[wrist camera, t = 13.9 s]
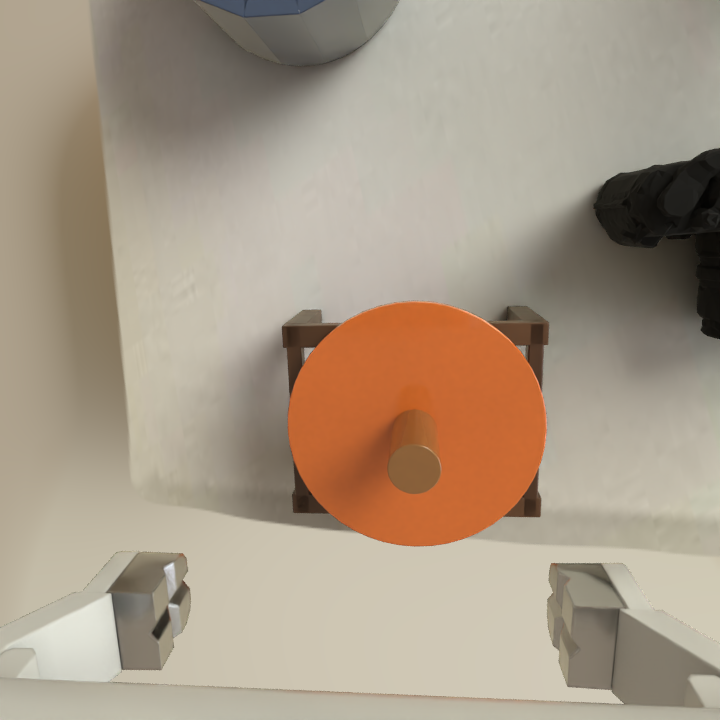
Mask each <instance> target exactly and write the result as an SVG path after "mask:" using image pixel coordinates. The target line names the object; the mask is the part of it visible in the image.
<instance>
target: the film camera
mask: <svg viewBox="0 0 720 720" xmlns="http://www.w3.org/2000/svg"><path fill="white" fill-rule="evenodd" d="M593 209H596V216H597V218H598V219H599V221H600V223H601V225H602V226H603V228H604V229H605V230H606V232H607V234H608V235H609V237H610V238H611V239H612V240H613V241H615V242H617V243H618V244H621V245H625V246H632V247H644V248H653V247H655V246H657V244H658V242H659V241H660V240H661V239H662V238H663V236H666V237H667V238H668V239H681V240H684V239H687V238H690V236H691V235H692V234H696V243H695V248H696V252H697V254H698V256H699V257H700V264H698V265H697V270H696V277H697V278H698V279H699V280H700V283H699V288H698V297H697V313H698V314H699V315H700V316H701V317H702V318H703V320H702V328H701V331H702V332H703V333H704V334H705V335H707V336H710V337H713V338H717V339H720V148H718V149H712V150H709V151H705V152H703V153H701V154H700V155H698V156H696V157H695V158H693V159H692V160H691V161H680V162H676V163H671V164H666V165H653V166H651V167H649V168H647V169H643V170H639V171H634V172H630V173H619V174H618V175H616V176H614V177H612V178H611V179H609V180H607V181H606V183H605V184H604V186H603V187H602V189H601V190H600V192H599V194H598V197H597V201H596V203H595V204H594V205H593Z"/></svg>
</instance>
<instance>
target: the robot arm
mask: <svg viewBox="0 0 720 720" xmlns="http://www.w3.org/2000/svg"><path fill="white" fill-rule="evenodd" d="M187 572H188V567H187V559H186V557H185V556H184V554H182V553H160V552H159V553H158V552H139V551H121V552H116V553H115V555H114V556H113V557H112V558H111V559H110V560H109V561H108V562H107V563H106V565H105V566H104V567H103V568H102V569H101V570H100V571H99V573H98V574H97V575H96V576H95V577H94V578H93V579H92V580H91V582H90V583H89V584H88V585H87V586H86V587H85V588H84V590H83V591H82V592H74V593H72V594H69V595H68V596H65V597H63V598H61V599H59V600H57V601H55V602H53V603H50V604H48V605H46V606H44V607H42V608H40V609H38V610H36V611H33V612H32V613H29V614H27V615H25V616H23V617H21V618H19V619H17V620H15V621H12V622H10V623H8V624H6V625H4V626H2V627H0V720H720V643H719V642H717V641H715V640H713V639H712V638H710V637H708V636H706V635H705V634H703V633H701V632H699V631H698V630H696V629H694V628H692V627H691V626H689V625H687V624H686V623H684V622H682V621H680V620H678V619H677V618H675V617H673V616H672V615H670V614H668V613H666V612H665V611H663V610H655V609H654V608H653V606H652V605H651V603H650V602H649V600H648V599H647V597H646V595H645V594H644V593H643V591H642V589H641V588H640V586H639V585H638V583H637V582H636V580H635V578H634V577H633V575H632V574H631V572H630V571H629V569H628V568H627V566H626V565H625V564H623V563H552V564H551V566H550V570H549V583H550V585H551V588H552V591H553V593H552V595H551V596H550V597H549V598H548V601H547V602H548V603H547V619H548V628H549V633H550V637H551V640H552V644H553V646H554V647H556V648H557V649H558V650H559V664H560V667H561V670H562V672H563V675H564V678H565V681H566V684H567V686H568V687H576V688H591V689H605V690H612V692H613V694H614V695H615V696H617V697H618V698H619V699H620V700H621V701H622V702H623V703H624V704H608V703H607V704H606V703H584V702H561V701H538V700H516V699H492V698H469V697H446V696H421V695H398V694H397V695H396V694H376V693H352V692H330V691H306V690H283V689H260V688H259V689H258V688H237V687H213V686H190V685H167V684H144V683H121V682H109V681H111V680H112V679H113V678H114V677H116V676H117V675H118V674H120V673H121V672H122V670H162V668H163V666H164V664H165V662H166V661H167V659H168V657H169V655H170V653H171V652H172V650H173V648H174V643H173V638H174V637H175V636H177V635H179V634H180V633H182V631H183V629H184V627H185V626H186V623H187V620H188V616H189V612H190V604H191V596H190V588H189V587H188V586H187V585H186V584H185V582H184V581H183V578H184V577H185V575H186V573H187Z"/></svg>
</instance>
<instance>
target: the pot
mask: <svg viewBox="0 0 720 720" xmlns="http://www.w3.org/2000/svg"><path fill="white" fill-rule="evenodd" d="M194 1H195V2H196V3H197V4H198V5H199V6H200V7H201V8H202V9H203V10H204V11H205V12H206V13H207V14H208V15H209V16H210V17H211V18H212V19H213V20H214V21H215V22H216V23H217V24H218V25H219V26H220V27H221V28H222V29H223V30H224V31H225V32H226V33H227V34H228V35H229V36H230V37H231V38H232V39H233V40H234V41H235V42H236V43H237V44H238V45H239V46H240V47H241V48H243V49H244V50H246V51H249V52H251V53H253V54H255V55H257V56H259V57H261V58H263V59H265V60H268V61H272V62H275V63H278V64H282V65H283V64H284V65H290V66H311V65H319V64H323V63H327V62H331V61H334V60H336V59H339V58H341V57H343V56H346V55H348V54H349V53H351V52H353V51H354V50H356V49H358V48H359V47H361V46H362V45H363V44H364V43H366V42H367V41H368V40H369V39H371V38H372V37H373V36H374V35H375V34H376V33H377V32H378V31H379V29H380V28H381V27H382V26H383V25H384V24H385V22H386V21H387V20H388V18H389V17H390V16H391V14H392V13H393V11H394V9H395V7H396V6H397V5H398V3H399V0H194Z"/></svg>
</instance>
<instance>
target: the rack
mask: <svg viewBox="0 0 720 720" xmlns="http://www.w3.org/2000/svg"><path fill="white" fill-rule="evenodd" d="M487 322H489V323H490V324H492V325H493V326H495V327H496V328H497V329H499V330H500V331H501V332H502V333H503V334H505V335H506V336H507V337H508V338H509V339H510V340H511V341H512V342H513V343H514V345H526V360H527V362H528V363H529V365H530V366H531V368H532V370H533V372H534V374H535V376H536V378H537V380H538V382H539V385H540V389H541V392H542V382H543V358H544V345H548V338H549V322H547V321H546V320H545V319H543V318H542V317H541V316H539V315H538V314H537V313H535V312H534V311H533V310H531V309H530V308H529V307H527V306H513V307H508V316H507V321H487ZM340 324H342V323H322V318H321V310H302V311H301V312H300V313H299V314H297V315H296V316H295V317H293V318H292V319H291V320H290V321H288V322H287V323H286V324H284V325H283V326H282V337H283V348H287V359H288V376H289V393H290V397H291V393H292V390H293V387H294V383H295V381H296V379H297V376H298V374H299V372H300V370H301V368H302V366H303V364H304V363H305V360H304V348H314V347H316V346H317V345H318V344H319V343H320V341H321V340H322V339H323V338H324V337H326V336H327V335H328V334H329V333H330V332H331V331H332V330H333V329H334V328H336V327H337V326H339V325H340ZM538 475H539V468H538V470H537V473H536V475H535V477H534V479H533V481H532V483H531V484H530V486H529V488H528V489H527V491H526V492H525V494H524V495H523V496H522V497H521V499H520V500H519V501H518V503H517V504H516V505H515V506H514V507H513V508H512V509H511V510H510V511H509V512H508V513H507V514H506V515H504V516H503V517H540V516H541V497H540V494H539V492H538ZM294 476H295V490H294V492H293V494H292V499H293V512H294V513H327V514H330V513H329V512H328V511H327V510H326V509H325V508H324V507H323V506H322V505H321V504H320V503H319V502H318V501H317V500H316V499H315V497H314V496H313V495H312V493H311V492H310V491H309V490H308V488H307V486H306V485H305V483H304V481H303V479H302V478H301V476H300V474H299V472H298V469H297V467H296V465H295V462H294Z"/></svg>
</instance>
